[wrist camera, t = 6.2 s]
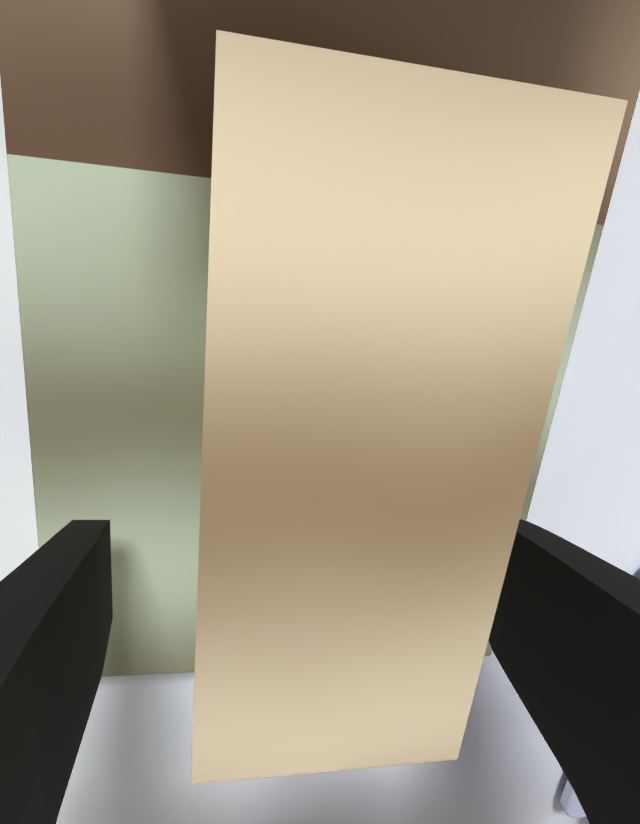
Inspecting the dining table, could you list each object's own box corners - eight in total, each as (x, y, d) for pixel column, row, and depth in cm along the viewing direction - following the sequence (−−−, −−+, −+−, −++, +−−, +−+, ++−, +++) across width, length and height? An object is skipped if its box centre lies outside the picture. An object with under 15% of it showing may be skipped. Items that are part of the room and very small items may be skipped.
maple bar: (385, 590, 12) (457, 759, 8) (200, 595, 11) (191, 784, 8) (462, 142, 9) (628, 100, 5) (217, 106, 8) (217, 30, 5)
